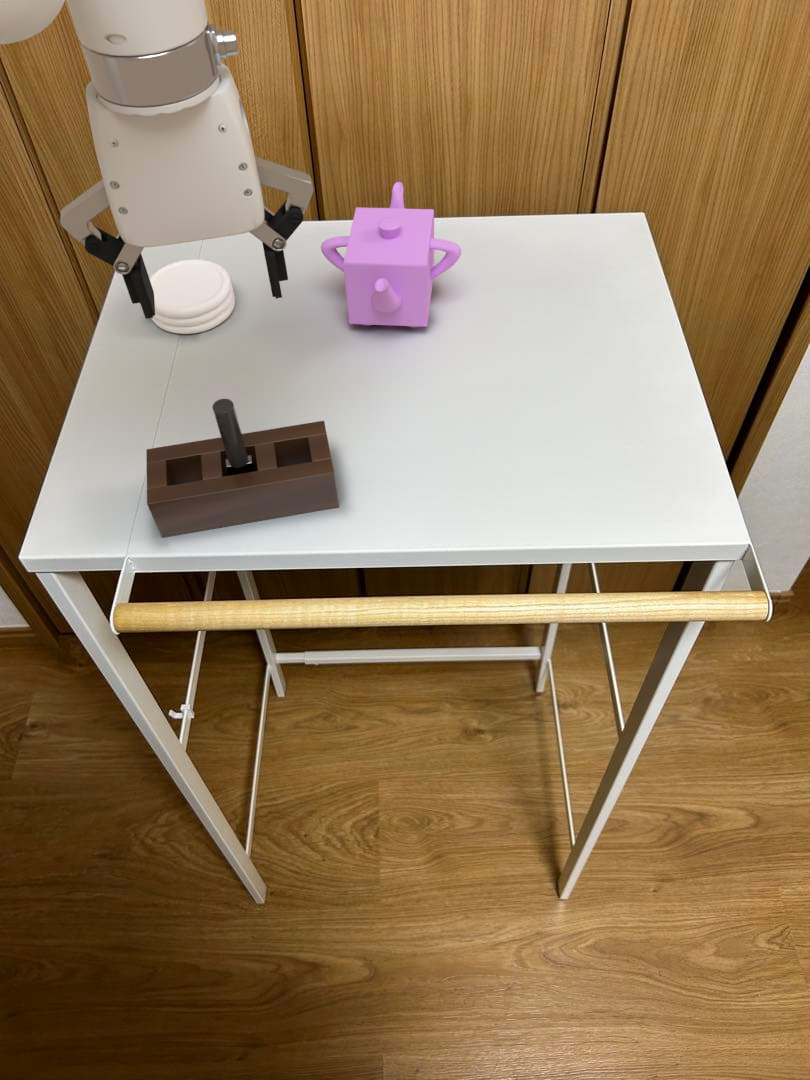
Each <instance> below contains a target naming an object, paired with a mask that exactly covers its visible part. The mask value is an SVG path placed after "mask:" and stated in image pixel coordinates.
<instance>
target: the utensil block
mask: <svg viewBox="0 0 810 1080" xmlns="http://www.w3.org/2000/svg"><path fill="white" fill-rule="evenodd" d="M325 423H326V422H325V420H319V421H313V422H306V423H299V424H295V425H288V426H281V427H277V428H270V429H264V430H257V431H251V432H245V433H242V437H243V441H244V444H245V448H246V452H247V455H248V456H249V455H251V456H252V460H253V464H254V467H255V472H249V473H243V474H237V475H231V476H229V475H228V471H227V468H226V459H228V458H227V455H226V451H225V448H224V445H223V442H222V438H221V436H220V437H215V438H208V439H202V440H196V441H190V442H183V443H178V444H172V445H165V446H159V447H153V448H147V449H146V454H145V455H146V505H147V508H148V510H149V512H150V514H151V516H152V518H153V521H154V523H155V525H156V527H157V530H158V532H159V534H160V536H161V538H168V537H173V536H180V535H185V534H190V533H198V532H203V531H209V530H215V529H221V528H226V527H232V526H237V525H244V524H250V523H255V522H261V521H268V520H273V519H278V518H284V517H290V516H295V515H301V514H308V513H314V512H318V511H325V510H331V509H336V508H340V501H339V495H338V489H337V483H336V475H335V470H334V464H333V459H332V454H331V450H330V444H329V438H328V434H327V429H326V424H325Z"/></svg>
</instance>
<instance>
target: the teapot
mask: <svg viewBox="0 0 810 1080" xmlns="http://www.w3.org/2000/svg"><path fill="white" fill-rule="evenodd" d="M338 248H346V251H345V255H344V257H343V256H342V255H341V254H340V252H339V251H338ZM435 250H437V251H441V252H444V253H445V255H444V256H443V258H442V259H440V260H439V262H438V263H437V264H435ZM320 251H321V253H322V255H323V256H324V257H325V259H326V260H327V261H328V262H329V263H330V264H332V265H333V266H334V267H336V268H337V269H338V270H340V271H341V272H343V275H344V286H345V293H346V294H345V296H346V303H347V313H348V315H347V316H348V323H349V325H361V326H365V327H371V326H373V325H374V326H399V327H408V328H412V329H415V328H421V327H422V328H423V327H424V328H425V327H426V328H428V325H429V317H430V309H431V302H432V301H431V299H432V292H433V283H434V279H435V278H437V277H438V276H440V275H442V274H443V273H444V272H447V270H449V269H450V268H452V267H453V266H454V265H455V264H456V263H457V262H458V260H460V257H461V255H462V248H461V246H460V245H459V244H458V243H456V242H454V241H452V240H446V239H443V238H442V239H441V238H435V210H434V209H433V208H405V201H404V184H403V183H402V182H401V181H396V182H395V183H394V184H393V186H392V190H391V199H390V205H389V207H359V206H357V207H355V209H354V215H353V219H352V224H351V227H350V232H349V235H342V236H341V235H340V236H333V237H329V238H327V239H325V240H323V242H321V245H320Z"/></svg>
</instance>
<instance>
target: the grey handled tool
mask: <svg viewBox="0 0 810 1080" xmlns="http://www.w3.org/2000/svg"><path fill="white" fill-rule="evenodd" d="M212 412H213V414H214V418H215V421H216V425H217V428H218V431H219V434H220V437H221V438H222V442H223V445H224V448H225V451H226V455H227V458H228V459H226V468H227V471H228V475H229V476H231V475H237V474H243V473H249V472H255V467H254V464H253V460H252V456H251V455H249V456H248V455H247V452H246V448H245V444H244V441H243V437H242V434H243V433H242V430H241V427H240V422H239V419H238V415H237V412H236V407H235V404H234V402H233V400H231V399H229V398H220V399H217V400H216V401H215V402H214V403H213V404H212Z"/></svg>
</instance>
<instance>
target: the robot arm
mask: <svg viewBox="0 0 810 1080" xmlns="http://www.w3.org/2000/svg"><path fill="white" fill-rule="evenodd" d="M65 1H66V3H67V6H68V10H69V12H70V16H71V19H72V23H73V25H74V29H75V32H76V35H77V38H78V41H79V43H80V47H81V49H82V54H83V56H84V59H85V63H86V66H87V68H88V72H89V75H90V78H91V80H90V81H89V82H88V84H87V85H86V86H85V98H86V99H85V100H86V107H87V112H88V119H89V124H90V130H91V135H92V140H93V146H94V150H95V154H96V159H97V163H98V167H99V171H100V174H101V179H100V180H98V181H97V182H95V184H94V185H92V186H91V187H90V188H88V189H86V190H85V191H83V193H82V194H80V195H78V196H77V197H75V198H74V199H73V200H72V201H71V202H69V203H68V204H66V205H65V206H64V207H62V208H61V209H60V219H59V222H60V226H61V228H63V229H64V230H65V231H66V232H67V233H68V234H69V235H70V236H72V237H73V238H74V240H76V241H77V242H78V243H80V244H81V245H82V246H84V250H85V251H86V252H87V253H88V254H89V255H92V256H93V257H95V258H97V259H99V260H101V261H103V262H104V263H107V264H109V265H110V266H112V267H113V269H114V271H115V272H116V273H117V274H119V275H121V276H122V279H123V281H124V284H125V286H126V289H127V292H128V295H129V298H130V300H131V303H132V304H133V305H135V304H140V307H141V310H142V313H143V315H144V318H145V319H146V320H148V319H151V318H153V316H155V301H154V292H153V288H152V285H151V282H150V279H149V278H150V277H149V276H150V275H149V274H148V270H147V268H146V267H147V266H146V264H145V261H144V259H143V255H142V253H143V251H144V249H147V248H156V247H164V246H170V245H171V246H172V245H179V244H184V243H192V242H198V241H206V240H211V239H219V238H225V237H232V236H237V235H243V234H247V233H250V234H251V235H253V236H254V237H255V238H256V239H258V240H259V241H261V243H262V248H263V253H264V259H265V264H266V270H267V274H268V279H269V280H268V281H269V286H270V289H271V296H272V297H273V298H274V299H282V298H283V295H282V289H281V283H280V282H284V281H289V276H288V275H289V274H288V270H287V269H288V268H287V263H286V258H285V252H284V250H285V249H286V247H287V241H288V240H289V239H290V237H291V236H292V235H293V234H294V233H295V231H296V230H297V229H298V228H299V226H300V225H301V224H302V223H303V221H304V215H305V212H306V210H307V209H308V205H309V203H310V200H311V198H312V196H313V193H314V190H315V187H314V184H313V180H312V177H311V176H310V174H308V173H306V172H303V171H300V170H297V169H294V168H291V167H288V166H285V165H282V164H280V163H276V162H273V161H270V160H267V159H264V158H261V157H258V156H256V153H255V150H254V149H255V148H254V145H253V141H252V136H251V131H250V127H249V124H248V120H247V116H246V112H245V109H244V106H243V101H242V99H241V95H240V93H239V90H238V87H237V84H236V83H235V79H234V77H233V75H232V72H231V69H230V68H229V67H228V66H227V65H226V64H224V63H222V60H228V57H233V56H240V54H239V48H238V43H237V37H236V32H235V29H229V30H222V28H215V24H214V23H210V24H209V19H208V17H209V16H208V13H207V7H206V3H205V0H0V45H10V44H15V43H18V42H22V41H26V40H27V39H30V38H32V37H35V36H36V35H38V34H40V33H41V32H42V31H44V30H46V28H47V27H49V26H50V25H51V24H52V23H53V22H54V20H55V19H56V18H57V16H58V15H59V14H60V13H61V10H62V8H63V7H64V4H65ZM262 186H264V187H267V188H271V189H274V190H276V191H280V192H284V193H285V194H287V199H285V201H284V202H283V204H282V205H281V206H280V207H279V209H278V210H277V211H276V212H273V211H272V210H271V209H269V208H268V207H267V206H265V203H264V196H263V190H262ZM109 208H110V212H111V214H112V218H113V221H114V224H115V227H116V230H117V232H118V233H117V235H116V237H115V236H114V235H112V234H110V233H108V232H107V231H105V230H103V229H101V228H99V227H97V226H95V225H94V224H93V222H91V221H92V220H93V219H95V218H96V217H98V216H99V215H100V214H102V213H103V212H104V211H105V210H108V209H109Z"/></svg>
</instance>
